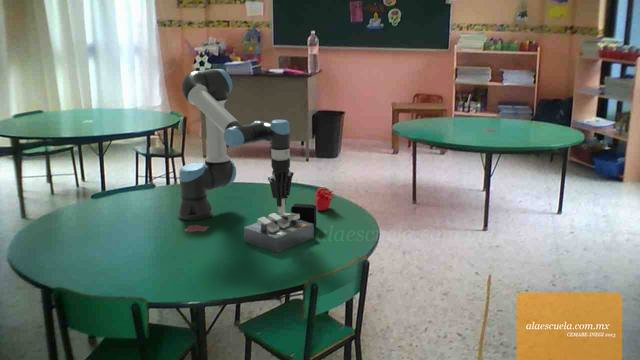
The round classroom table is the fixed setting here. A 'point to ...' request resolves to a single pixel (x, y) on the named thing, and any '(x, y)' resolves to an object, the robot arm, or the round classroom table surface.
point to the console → (279, 234)
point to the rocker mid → (279, 220)
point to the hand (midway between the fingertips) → (281, 213)
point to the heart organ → (323, 199)
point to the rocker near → (268, 224)
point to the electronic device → (305, 212)
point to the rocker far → (291, 216)
